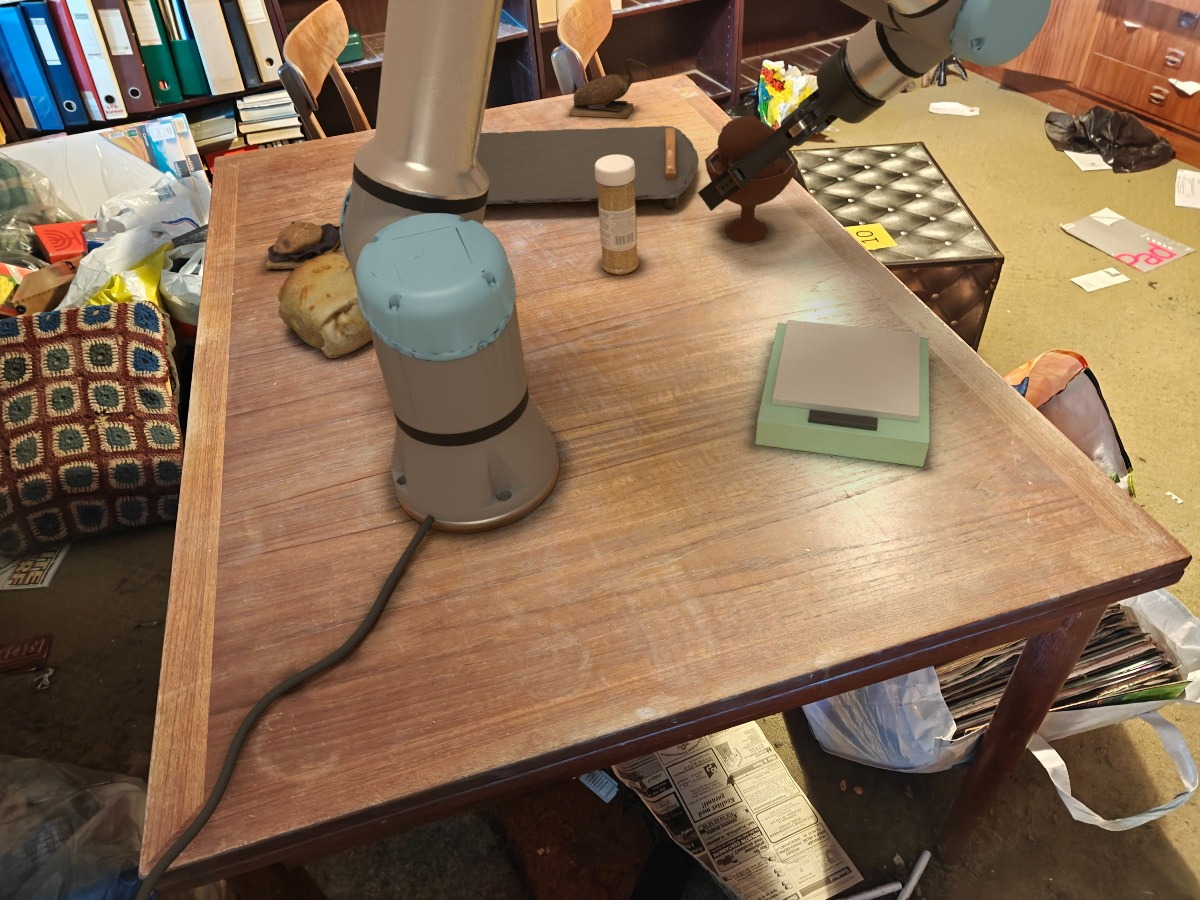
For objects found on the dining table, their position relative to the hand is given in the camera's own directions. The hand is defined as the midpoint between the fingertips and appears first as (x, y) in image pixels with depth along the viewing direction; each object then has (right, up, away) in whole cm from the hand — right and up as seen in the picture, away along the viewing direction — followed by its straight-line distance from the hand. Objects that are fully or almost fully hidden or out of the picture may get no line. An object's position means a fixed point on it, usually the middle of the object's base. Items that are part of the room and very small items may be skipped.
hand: (729, 181), depth 107 cm
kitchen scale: (+8, -29, -23) cm, 37 cm away
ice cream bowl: (+3, -6, +3) cm, 7 cm away
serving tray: (-21, +5, +17) cm, 28 cm away
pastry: (-46, -19, -7) cm, 51 cm away
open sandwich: (-55, -7, +6) cm, 56 cm away
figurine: (-14, +22, +34) cm, 43 cm away
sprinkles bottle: (-14, -11, -1) cm, 18 cm away
